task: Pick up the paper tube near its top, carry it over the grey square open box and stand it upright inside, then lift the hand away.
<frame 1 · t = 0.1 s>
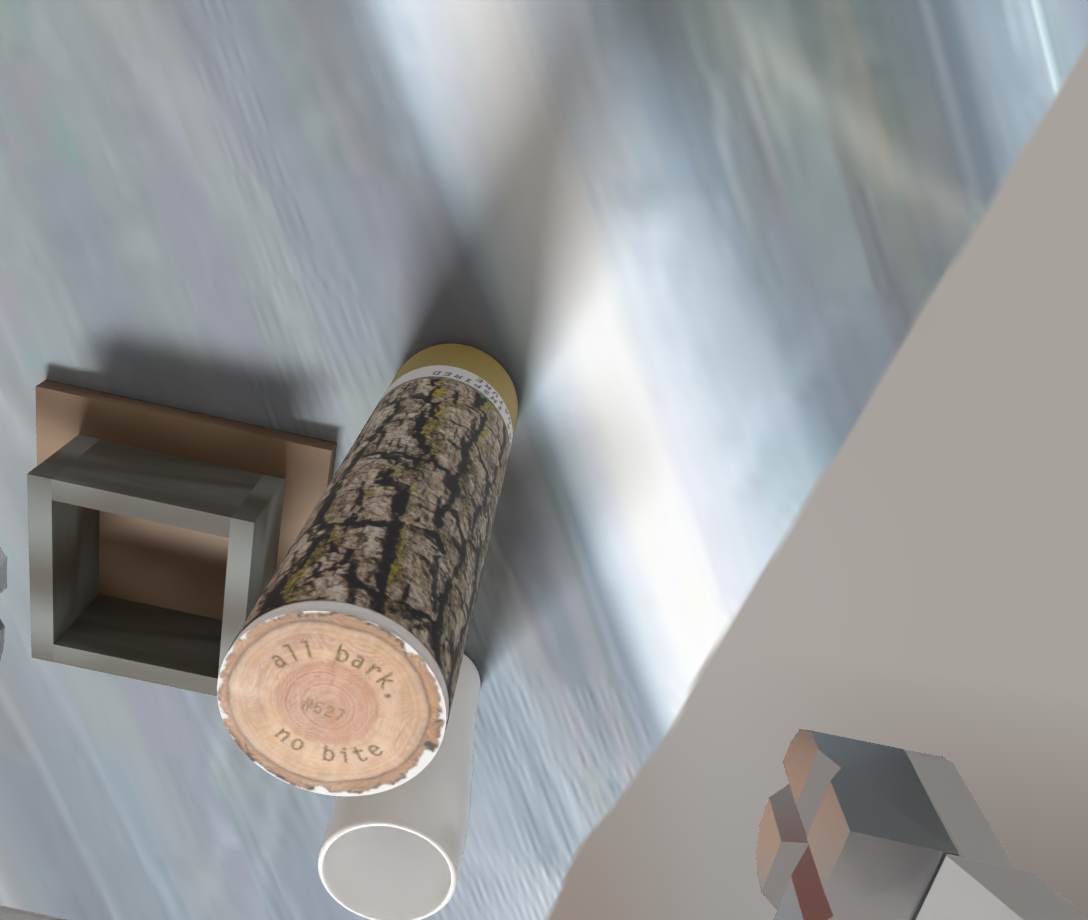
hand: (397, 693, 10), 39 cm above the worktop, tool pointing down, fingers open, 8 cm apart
drinking glass: (439, 673, 58), on the worktop
grey square open box: (184, 536, 55), on the worktop
paper tube: (456, 399, 50), on the worktop
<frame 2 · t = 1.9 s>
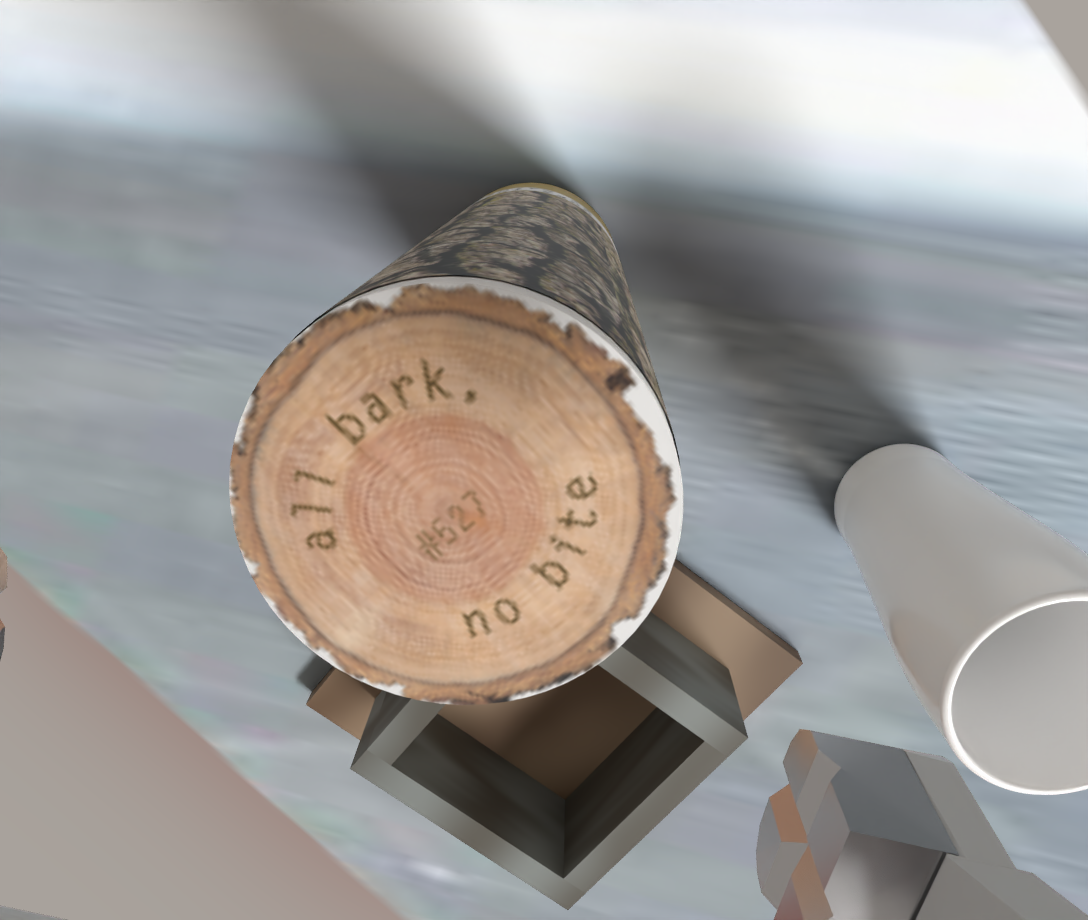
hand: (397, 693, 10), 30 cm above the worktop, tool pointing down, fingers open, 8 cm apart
drinking glass: (892, 496, 40), on the worktop
grey square open box: (550, 672, 44), on the worktop
paper tube: (532, 268, 38), on the worktop
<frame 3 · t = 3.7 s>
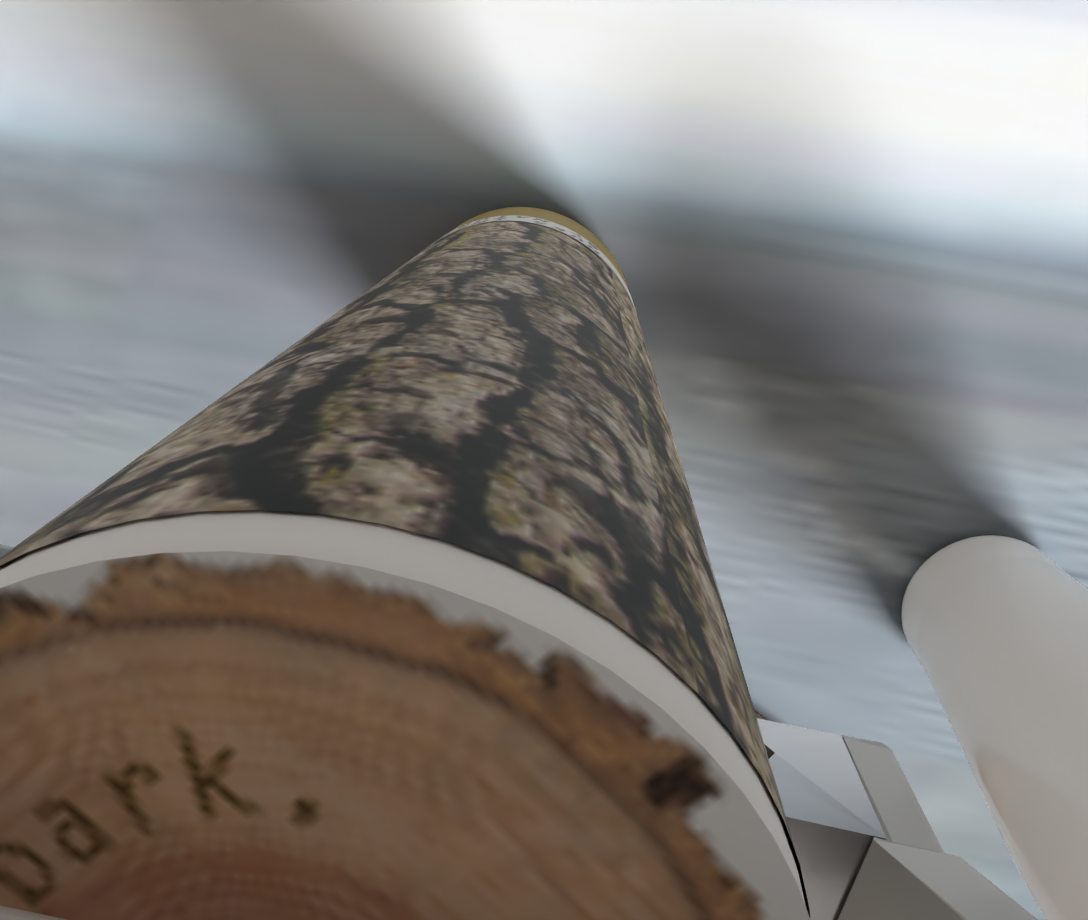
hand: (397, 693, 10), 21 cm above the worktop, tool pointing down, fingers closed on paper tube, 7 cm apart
drinking glass: (973, 597, 32), on the worktop
paper tube: (523, 315, 30), on the worktop, touching gripper
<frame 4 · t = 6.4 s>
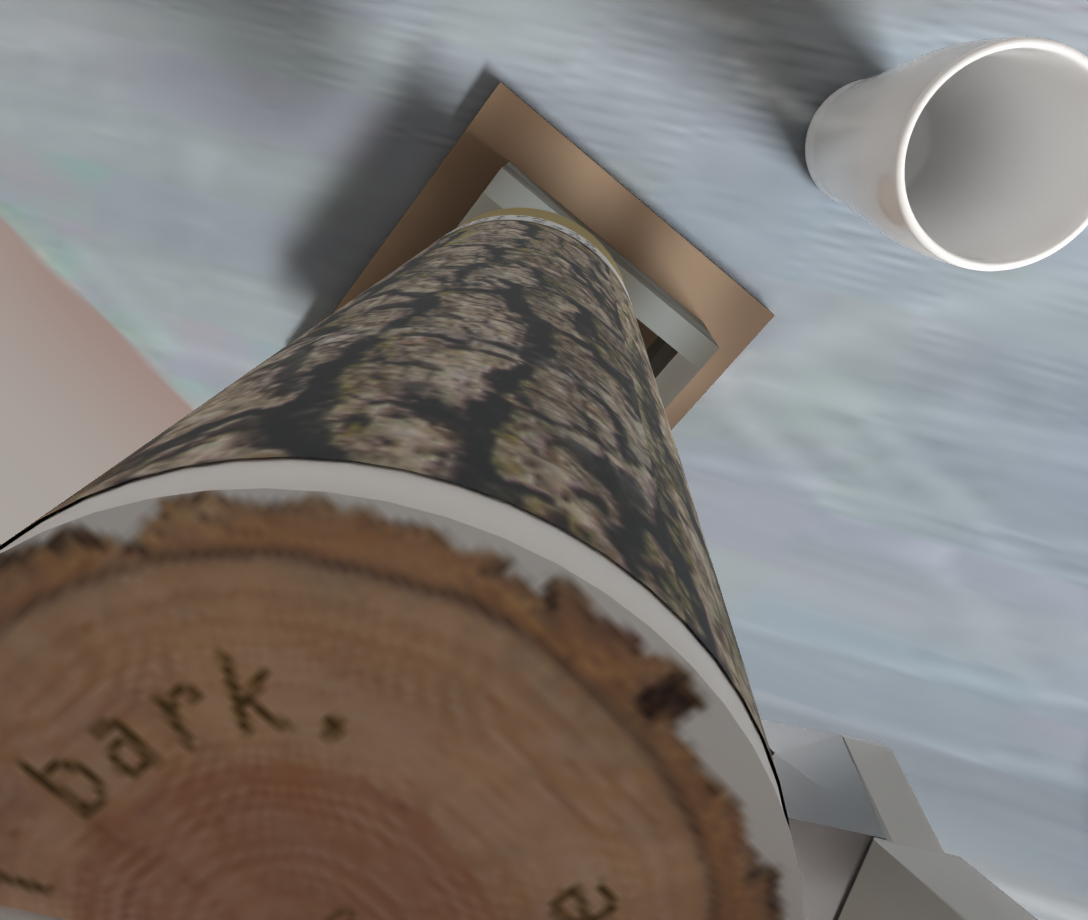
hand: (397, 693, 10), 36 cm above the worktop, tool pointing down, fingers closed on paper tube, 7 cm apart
drinking glass: (861, 143, 42), on the worktop
grey square open box: (531, 335, 45), on the worktop
paper tube: (522, 313, 30), point 14 cm above the worktop, touching gripper
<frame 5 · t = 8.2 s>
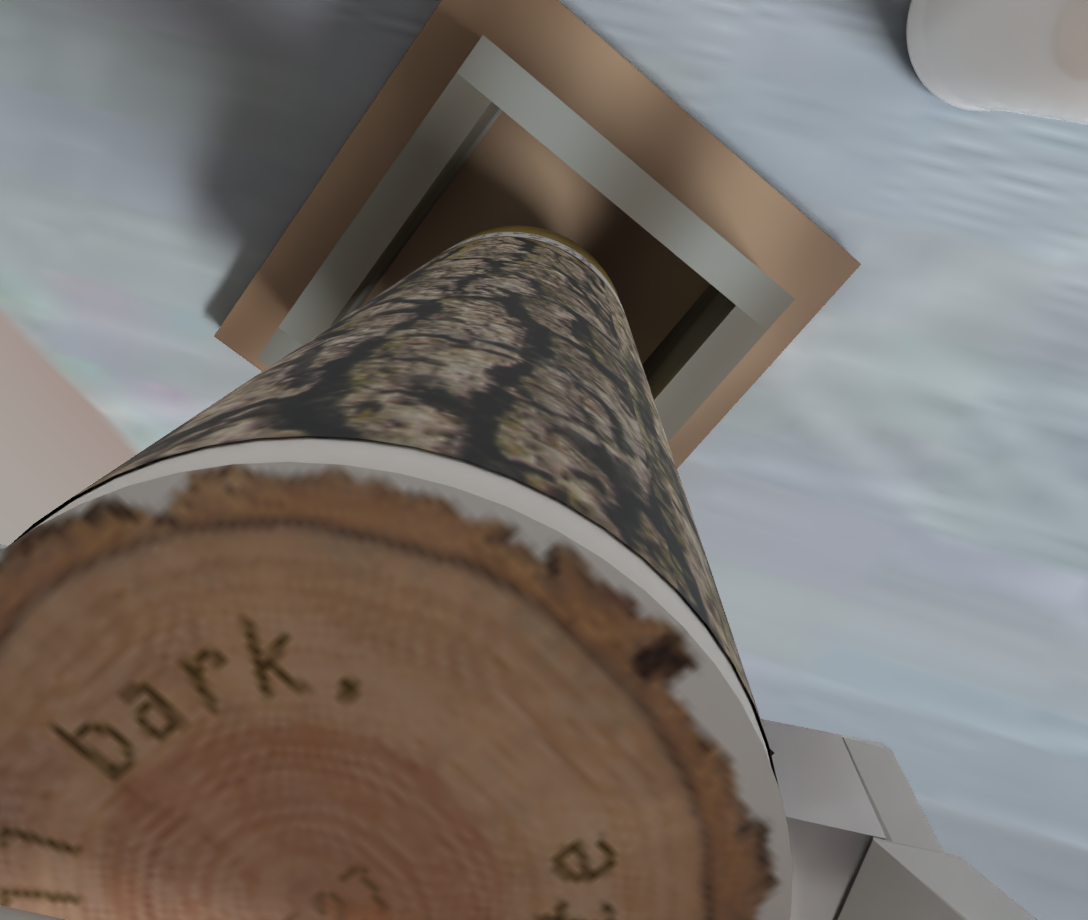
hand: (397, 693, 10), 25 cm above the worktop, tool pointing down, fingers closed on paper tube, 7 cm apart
drinking glass: (982, 24, 31), on the worktop
grey square open box: (530, 296, 34), on the worktop
paper tube: (519, 329, 31), point 3 cm above the worktop, touching gripper
when the fingers open (23 cm above the worktop, at t = 9.1 s): paper tube stays where it is, resting on grey square open box.
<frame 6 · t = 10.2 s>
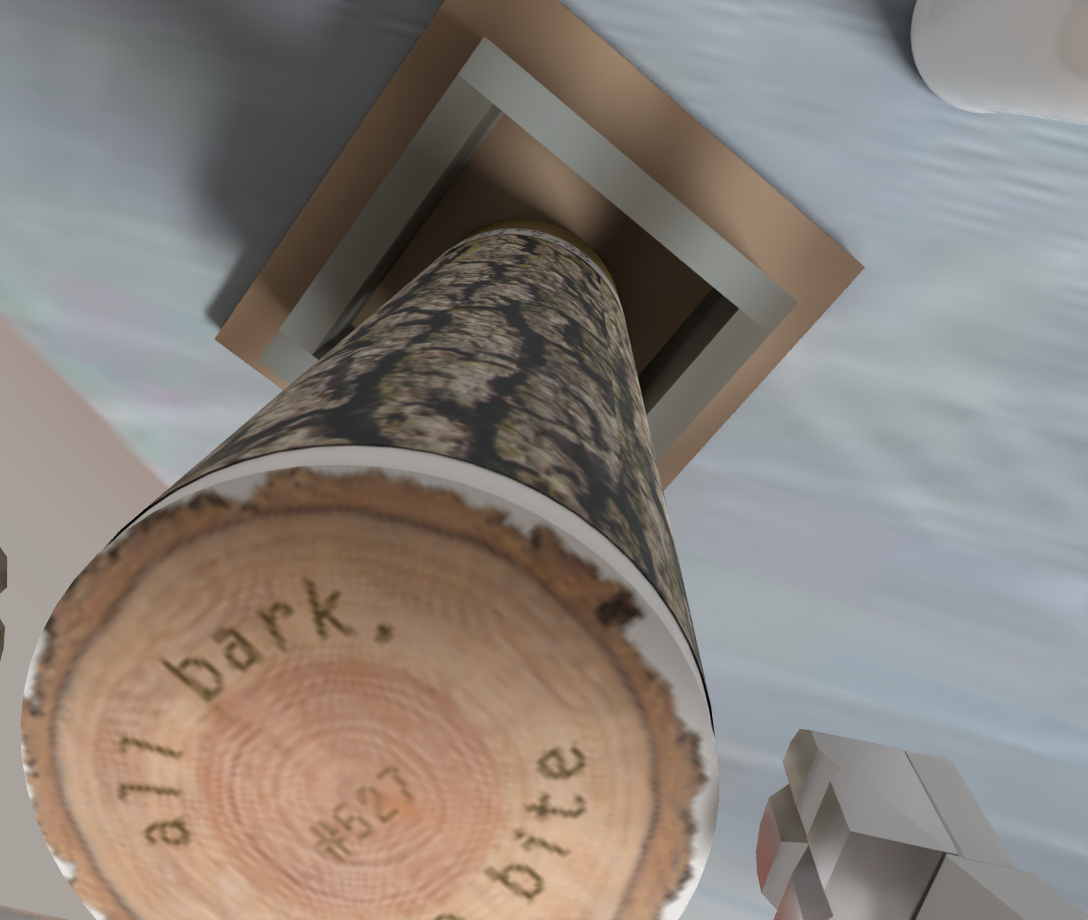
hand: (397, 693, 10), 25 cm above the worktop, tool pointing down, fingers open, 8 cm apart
drinking glass: (987, 25, 30), on the worktop
grey square open box: (532, 299, 34), on the worktop
paper tube: (523, 316, 33), point 1 cm above the worktop, touching grey square open box
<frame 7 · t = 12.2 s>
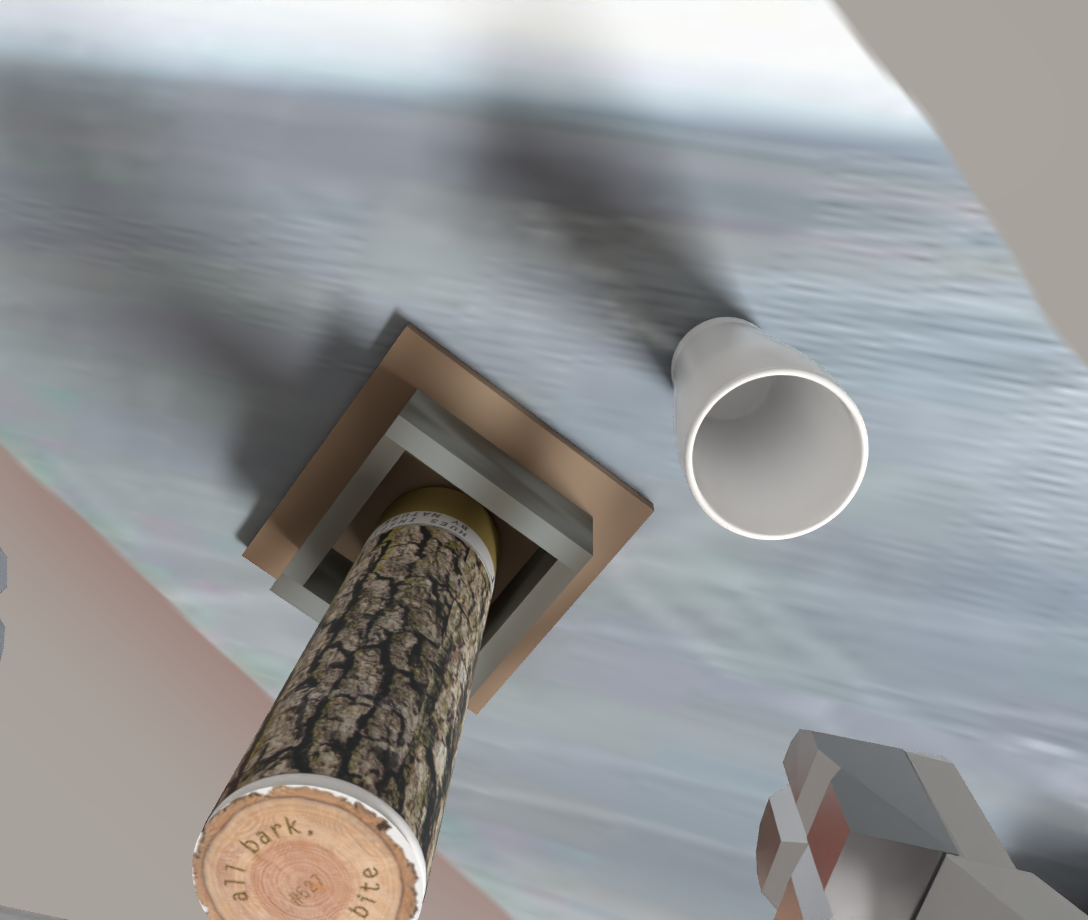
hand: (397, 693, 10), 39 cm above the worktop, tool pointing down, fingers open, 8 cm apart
drinking glass: (721, 365, 49), on the worktop
grey square open box: (446, 526, 52), on the worktop
paper tube: (440, 540, 51), point 1 cm above the worktop, touching grey square open box
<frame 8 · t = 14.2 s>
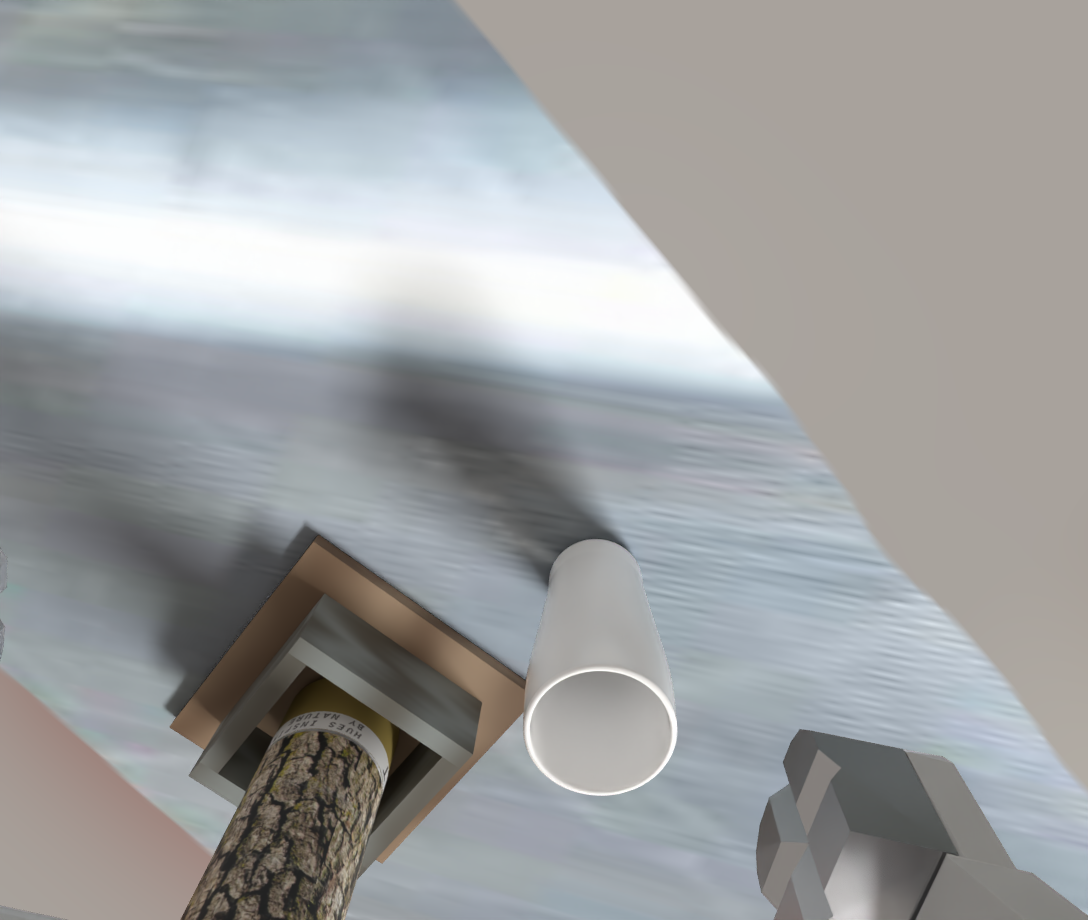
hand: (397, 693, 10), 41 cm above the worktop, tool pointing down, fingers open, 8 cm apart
drinking glass: (595, 575, 55), on the worktop
grey square open box: (353, 703, 58), on the worktop
paper tube: (346, 717, 57), point 1 cm above the worktop, touching grey square open box
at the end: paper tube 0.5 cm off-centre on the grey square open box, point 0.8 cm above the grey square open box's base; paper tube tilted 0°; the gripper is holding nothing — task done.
